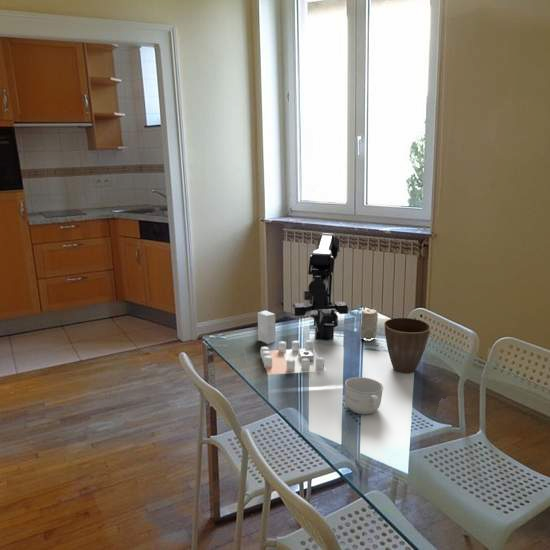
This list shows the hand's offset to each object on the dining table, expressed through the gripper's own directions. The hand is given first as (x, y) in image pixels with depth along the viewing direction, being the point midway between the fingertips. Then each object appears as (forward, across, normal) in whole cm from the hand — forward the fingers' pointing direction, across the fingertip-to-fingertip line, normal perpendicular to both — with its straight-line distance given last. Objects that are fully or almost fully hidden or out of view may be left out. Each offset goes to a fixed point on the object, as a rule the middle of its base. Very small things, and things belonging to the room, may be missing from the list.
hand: (319, 332), depth 178 cm
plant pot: (+11, -28, +10) cm, 31 cm away
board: (+11, +10, 0) cm, 15 cm away
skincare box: (+11, +16, -20) cm, 28 cm away
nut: (+10, +4, 0) cm, 11 cm away
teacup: (+11, -5, +36) cm, 38 cm away
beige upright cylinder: (+11, -24, -18) cm, 32 cm away
